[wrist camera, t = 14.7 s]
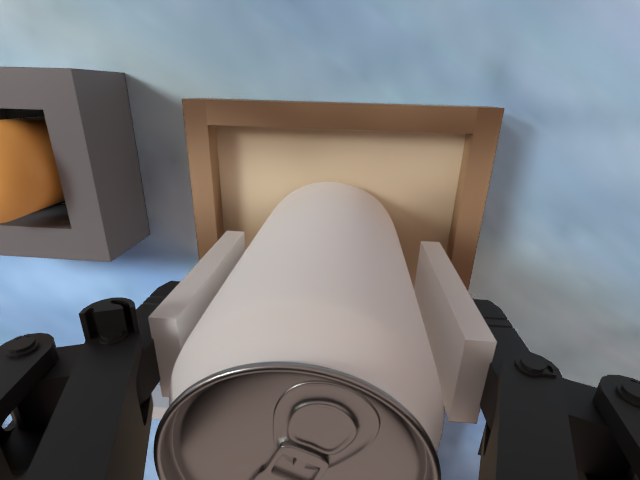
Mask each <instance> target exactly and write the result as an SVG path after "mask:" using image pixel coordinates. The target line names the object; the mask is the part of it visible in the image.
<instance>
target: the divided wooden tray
mask: <svg viewBox="0 0 640 480" xmlns="http://www.w3.org/2000/svg"><path fill="white" fill-rule="evenodd" d="M182 105H183V115H184V124H185V133H186V143H187V152H188V161H189V170H190V180H191V189H192V198H193V208H194V217H195V226H196V236H197V245H198V254H199V261H200V260H201V259H202V258H203V256H204V255H205V254H206V253H207V252H208V251H209V250H210V249H211V248H212V247H213V245H214V244H215V243H216V242H217V241H218V240H219V239H220V238H221V237H222V236H223V234H224V233H225V232H226V231H242V232H244V235H245V251H246V249H247V248H248V246H249V245H250V243H251V242H252V240H253V239H254V238H255V236H256V235H257V233H258V232H259V230H260V229H261V227H262V226H263V224H264V223H265V221H266V220H267V219H268V217H269V216H270V214H271V213H272V212H273V210H274V209H275V208H276V206H277V205H278V204H279V203H280V202H281V201H282V200H283V199H284V198H285V197H286V196H288V195H289V194H290V193H292V192H293V191H295V190H297V189H299V188H301V187H303V186H306V185H309V184H313V183H318V182H338V183H343V184H348V185H351V186H354V187H357V188H360V189H362V190H364V191H366V192H368V193H369V194H371V195H372V196H374V197H375V198H376V199H377V200H378V201H379V202H380V203H381V204H382V206H383V207H384V208H385V210H386V211H387V212H388V214H389V216H390V218H391V220H392V222H393V224H394V227H395V229H396V232H397V235H398V238H399V242H400V245H401V248H402V252H403V255H404V258H405V262H406V265H407V268H408V272H409V275H410V278H411V282H412V285H413V289H414V287H415V280H416V273H417V265H418V258H419V251H420V243H421V241H429V242H440V244H441V246H442V247H443V249H444V251H445V253H446V254H447V256H448V258H449V259H450V261H451V263H452V265H453V266H454V268H455V270H456V272H457V273H458V275H459V277H460V279H461V280H462V282H463V284H464V286H465V287H466V289H467V291H468V288H469V283H470V278H471V273H472V268H473V263H474V258H475V253H476V248H477V243H478V238H479V233H480V228H481V223H482V218H483V213H484V208H485V203H486V198H487V193H488V188H489V183H490V178H491V173H492V168H493V163H494V158H495V153H496V148H497V143H498V138H499V133H500V128H501V123H502V118H503V113H504V108H497V107H488V106H454V105H419V104H384V103H349V102H314V101H279V100H244V99H209V98H194V99H182ZM444 408H445V407H444Z"/></svg>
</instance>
